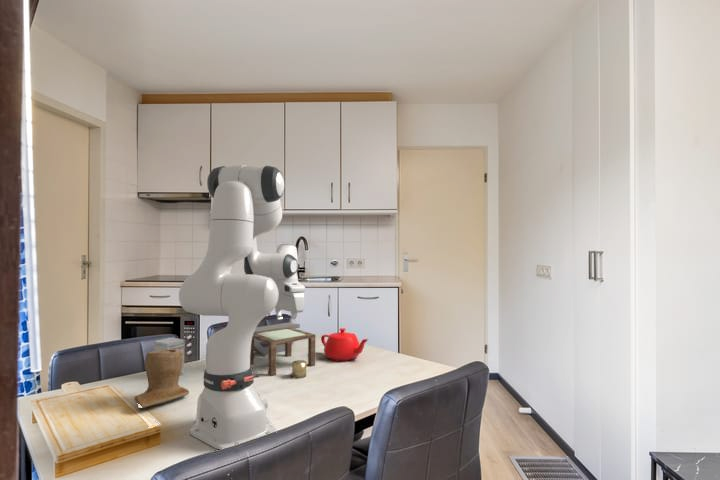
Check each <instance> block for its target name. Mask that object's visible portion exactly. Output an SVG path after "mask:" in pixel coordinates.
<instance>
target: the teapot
mask: <svg viewBox="0 0 720 480" xmlns="http://www.w3.org/2000/svg"><path fill="white" fill-rule="evenodd" d="M339 331H340V332H334V333H333V332H332V333H330V334H322V335H321V337H320V340H321V343H322V345H323V346H324V348H323V352H324V354H325V356H326V357H328V359H330V360H333V361H336V362H347V361H348V360H349V361H352V360H354V359H356V358H357V357H358V356H359V355H360V354H361V353H362V352H363V350H364V348H365V344H366V343H367V341H368V340H369V339H368V338H367V339H366V338H363V339H362V340H361V342H360V341H359V339H358V337H357V335H356V334H354V333H352V332H345V331H346V328H342V327H341V328H339ZM325 338H327V339H325Z"/></svg>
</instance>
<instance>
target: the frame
mask: <svg viewBox="0 0 720 480" xmlns="http://www.w3.org/2000/svg"><path fill="white" fill-rule="evenodd" d="M283 329H289V330H293V331H296V332H299V333H303V334H306V335H303V336H297V337H291V338H285V339H280V340H271V339H268V338H265V337H262V336H260V335H257V333H264V332H270V331H277V330H283ZM254 339H257V340H259V341H262V342H261V343H263V344H269V355H268V362H267V363H268V368H267V370H268V373H267V374H268V376H271V377H273V376H275V375H277V353H276V344H281V343H285V351H284V356H285V357H287V358H288V357H292V353H293V352H292V350H293V349H292V347H293V344H292V341H294V342H297V341H303V340H307V339H308V340H307V341H308V343H307V345H308V346H307V349H308V350H307V351H308V353H307V355H308V356H307V366H310V367H313V366H316V334H315V333H311V332H307V331H304V330H300V329H299V328H296V329H294V328H291V327H287V328H280V329H273V330H267V331H260V332H254V333H253V337H252V342H251V353H250V366H251V365H254V363H255V362H254V361H255V351H254Z"/></svg>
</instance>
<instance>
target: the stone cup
mask: <svg viewBox="0 0 720 480" xmlns="http://www.w3.org/2000/svg"><path fill="white" fill-rule="evenodd" d="M145 355H146V357H145V361H144V369H145V372H146V378H147V383H148V386H147V389H146V390H145V391H144V392H142V393H140V394H137V395H135V396H134V401H135V403H136V402H137V403H138V404H140V405H141V406H142V407H143V408H142V409H145V408H149V407H154V406H157V405H161V404H163V403H164V404H165V403H167V402H170V401H174V400H177V399H180V398H182V397H186V396H189V394H190V391H189V390H188V389H187V388H186V387H182V386H180V385H179V382H180V381H179V380H180V376H181V375H180V373H181V370H182V365H183V356H182V352H181V351H180V350H176V349H170V350H159V351H149V352H147V353H146V354H145Z"/></svg>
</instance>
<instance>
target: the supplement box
mask: <svg viewBox="0 0 720 480" xmlns="http://www.w3.org/2000/svg"><path fill="white" fill-rule="evenodd" d="M185 342H186V341H185V339H182V338H177V337H167V338H162V339H159V340H155V341H154V344H153V345H154V346H153V347H154V349H153V350H154V351H159V350H170V349H176V350H180V351H181V352H182V356H183V365H182V370H181V373H180V376H182V375H184V374H185V351H186V350H185V348H186V347H185V346H186V344H185Z"/></svg>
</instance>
